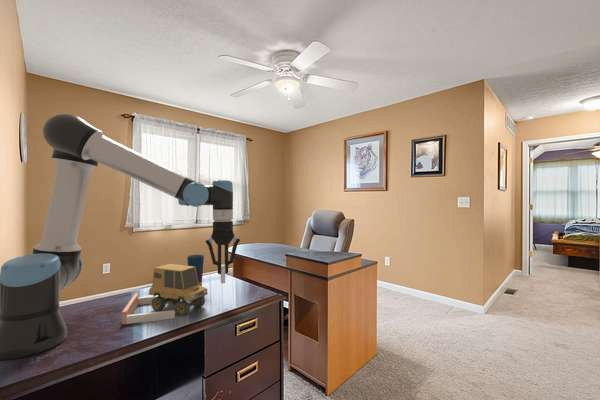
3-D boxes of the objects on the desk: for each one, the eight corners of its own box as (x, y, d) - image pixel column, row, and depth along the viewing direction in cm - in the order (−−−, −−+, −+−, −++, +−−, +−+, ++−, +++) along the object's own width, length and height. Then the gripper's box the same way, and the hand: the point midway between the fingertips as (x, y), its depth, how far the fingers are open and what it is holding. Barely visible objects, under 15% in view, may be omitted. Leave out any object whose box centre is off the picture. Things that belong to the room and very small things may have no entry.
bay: (121, 324, 88) (122, 311, 88) (134, 304, 105) (135, 293, 105) (174, 318, 93) (174, 306, 93) (178, 299, 111) (178, 289, 111)
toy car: (188, 318, 93) (189, 273, 93) (146, 310, 100) (146, 268, 100) (209, 307, 103) (209, 266, 103) (169, 300, 110) (169, 262, 110)
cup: (201, 287, 127) (202, 253, 127) (205, 291, 121) (205, 256, 121) (185, 289, 123) (186, 255, 123) (188, 293, 118) (188, 258, 118)
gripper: (205, 221, 102) (205, 286, 102) (241, 220, 106) (241, 283, 106) (204, 220, 109) (204, 281, 109) (238, 219, 113) (239, 278, 113)
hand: (222, 282), depth 107 cm, fingers closed
